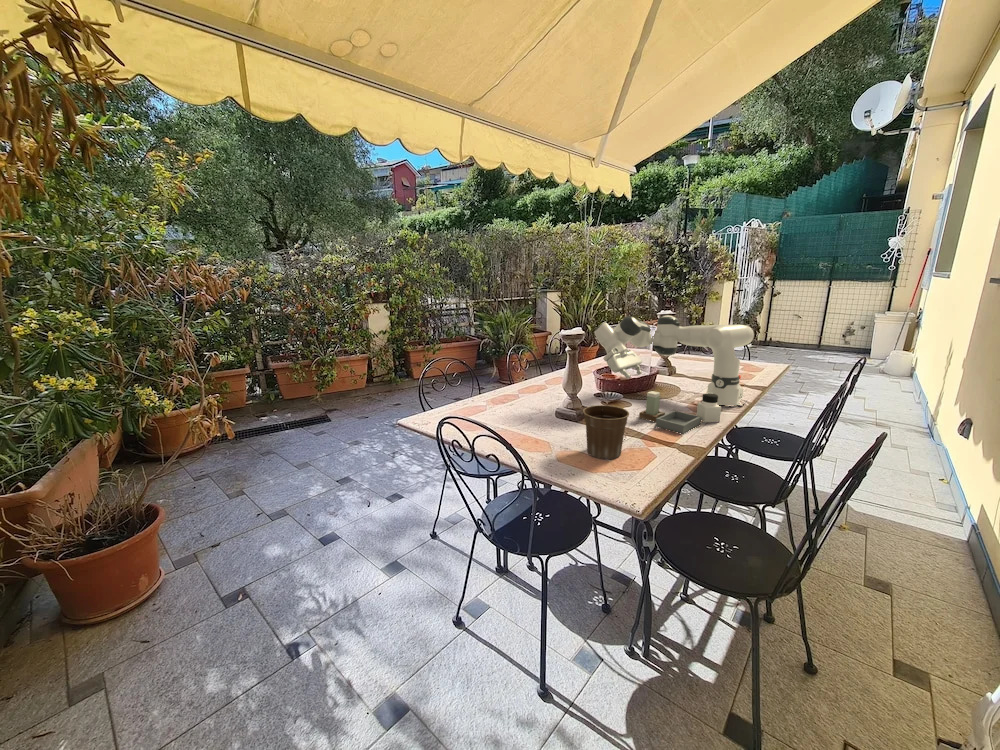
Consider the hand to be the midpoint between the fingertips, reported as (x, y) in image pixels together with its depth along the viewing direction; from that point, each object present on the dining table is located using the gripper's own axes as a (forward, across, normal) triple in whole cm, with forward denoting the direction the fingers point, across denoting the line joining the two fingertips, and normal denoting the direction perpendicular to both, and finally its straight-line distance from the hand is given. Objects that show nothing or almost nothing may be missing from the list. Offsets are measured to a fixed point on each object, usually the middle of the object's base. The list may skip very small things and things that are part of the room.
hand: (634, 375), depth 191 cm
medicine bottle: (+32, -16, +7) cm, 37 cm away
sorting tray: (+29, +1, +3) cm, 29 cm away
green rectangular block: (+20, 0, -6) cm, 21 cm away
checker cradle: (+20, 0, -6) cm, 21 cm away
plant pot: (+25, +47, 0) cm, 53 cm away
